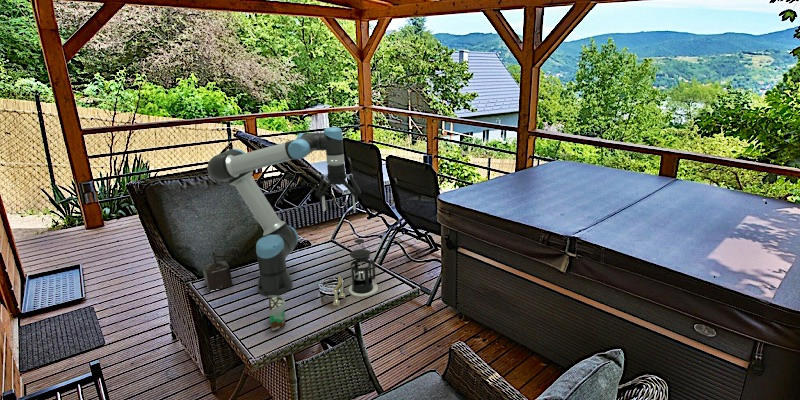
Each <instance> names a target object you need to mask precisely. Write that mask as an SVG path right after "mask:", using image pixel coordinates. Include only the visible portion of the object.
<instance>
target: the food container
mask: <svg viewBox="0 0 800 400" xmlns="http://www.w3.org/2000/svg"><path fill="white" fill-rule="evenodd" d="M267 297H268V306H269V307H268V308H269V309H268V314H269V321H270V328H271V332H272V333H275V332H278V331H280V330H281V329H283V328H284V327H285V325H286V319H285V318H286V317H285V309H286V306H287V304H286V301H285V300H284V298H283V297H282V296H280V295H271V296H267Z"/></svg>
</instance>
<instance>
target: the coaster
mask: <svg viewBox="0 0 800 400" xmlns="http://www.w3.org/2000/svg"><path fill="white" fill-rule="evenodd" d="M372 284H373V289H372V291H370V292H368V293H364V294H358V293H355V292H353V291H352V284H350V285H349V286H348V292H350V293H349V294H350V295H352V296H353V297H362V298H365V297H370V296H373V295H374V294H376V293H377V292H378V291H379V285H378V284H377V283H376V282H374V281H372ZM357 286H365V284H360V285H357ZM369 295H370V296H369ZM364 296H365V297H364Z"/></svg>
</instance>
